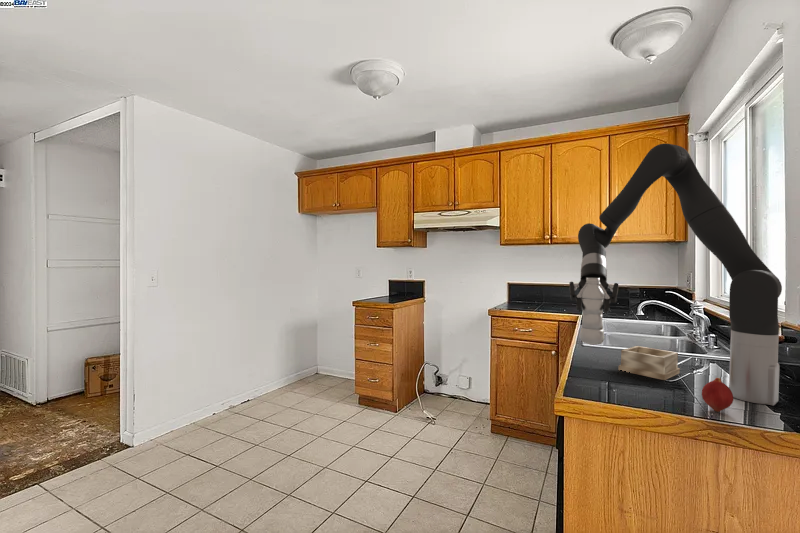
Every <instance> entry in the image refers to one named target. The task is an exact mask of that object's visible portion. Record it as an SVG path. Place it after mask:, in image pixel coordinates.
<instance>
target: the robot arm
mask: <svg viewBox="0 0 800 533" xmlns="http://www.w3.org/2000/svg"><path fill="white" fill-rule="evenodd" d="M695 164H696V163H695V162H694V160H693V158H692V157H691V155H690V152H688V151H687V149H686V148H684V147H683V146H680V145H676V144H672V143H660V144H657V145H655V146H653V147H652V148H650V150H648V152H647V153H646V154H645V156H644V157H643V160H642V161H641V162H640V164H638V167H637V168H636V170H635V171H634V173H633V174H632V176H631V177H630V179H629V180H628V181H627V183H626V184H625V185H624V187H623V188H622V189H621V190H620V192H619V193H618V194H617V196H616V197H615V198H614V199H613V200H612V201H611V203H609V204H608V206H607V207H606V208H605V209H604V210H603V211H602V212H601V214H600V215H599V221H600V222H601V224H603V225H604V226H605V229H604V228H602V227H600V226H598V225H596V224H595V223H585V224H583V225H582V226H581V227H580V228H579V230H578V233H577V240H578V244H579V247H580V249H581V251H582V259H581V260H582V261H581V263H580V280H579V282H578V283H577V282H576V283H575V282H573V281H570V282H569V294H570V295H569V296H570V301H572V302H574V301H575V302H576V304H575V306H576V310H577V311H578V312H580V313H581V312H582V310H583V308H582V298H581V294H582V291H583V290H584V289H585V287H586V286H587V284H586V278H600V284H599V287H600V288H601V289H602V291H603V292H604V294H605V299H604V306H603V313H604V314H608V312H610V310H611V307H610V304H612V303H613V304H616V303H617V300H618V293H619V283H617V282H614V284H610V283H609V282H608V269H607V268H608V265H607V251H606V248H607V247H608V246H609V245H610V244H611V242H612V240H613V238H614V236H615V235H616V232H617V231H618V229H619V228H620V227H621V225H622V224H624V222H625V221H626V220H627V219H628V218H629V217H630V216H631V215H632V214H633V213H634V211H635V209H636V208H637V207H638V205H639V203H640V200H641V199H642V197H643V196H644V194H645V193H646V191H647V190H648V189H649V188H650V187H651V186H652V185H653V184H654V183H655V182H656V181H658V180H659V179H661V178H662V177H664V179H666V180H667V181H668V183H669V184H670V185H671V187H672V189H673V190H675V193H676V194H677V196H678V198H679V202H680V207H681V212H682V215H683V217H684V220H685V221H686V223H687V224H688V226H689V227H690V229H691V231H692V232H693V234H694V235H695V236H696V237H697V239H698V240H699V241H700V242H701V243H702V245H704V246H705V247H706V248H707V249H708V250H709V251H710V253H711V254H713V255H714V256H715V257H716V258H717V259H718V260H719V261H720V263H721V264H722V265H723V267H724V268H725V270H726V271H727V273H728V275H729V277H730V279H731V282H730V286H729V297H728V298H729V312H728V314H729V316H728V317H729V321H730V345H729V347H730V350H729V351H730V352H729V372H728V373H729V375H728V376H729V377H728V378H729V379H728V381H729V382H728V387H729V388H730V390H731V391H732V394H733V399H737V400H740V401H743V402H744V401H745V402H748V403H754V404H758V405H759V404H760V405H770V406H773V407H774V406H775V405H776V404H777V403H778V402H779V394H780V392H779V390H780V388H779V387H780V363H778V362H779V341H780V340H779V338H780V337H779V336H780V335H779V334H780V324H779V317H778V313H779V312H778V310H779V298H780V296H781V294H782V290H783V286H782V282H781V280H780V279H779V278H778V277H777V276H776V275H775V274H774V273H773V272H772V271H771V269H769V267H767V265H766V264H765V263H764V262H763V260H761V258H760V257H759V256H758V255H757V254H756V252H755V251H754V250H753V249H752V247H751V245H750V243H749V242H748V240H747V239H746V236H745V235H744V233H743V231H742V230H741V228H740V226H739V225H738V222H736V220H735V218H734V217H733V215H732V214H731V213H730V211H729V210H728V209H727V207H726V206H725V205H724V203H723V202H722V201H721V199H719V197H718V196H717V194H716V193H715V191H713V189H712V188H711V187H710V185H709V184H708V183H707V182H706V181H705V180H704V178H703V176H702V175H701V173H700V172H699V170H698V168H697V166H696V165H695ZM578 288H579V289H580V291H579V292H578V294H576V291H577V289H578ZM608 289H609V290H610V292H611V293H612V294H611V295H609V294H608V293H607V290H608Z"/></svg>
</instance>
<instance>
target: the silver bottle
mask: <svg viewBox="0 0 800 533" xmlns="http://www.w3.org/2000/svg"><path fill="white" fill-rule="evenodd" d="M586 284H587V286H586V287H585V289H584V290H583V291H582V294H581V298H582V321H581V328H580V334H579V337H580V340H581V342H582V343H584V344H586V345H590V346H594V345H595V346H596V345H602V344H603V343H604V340H605V331H604V325H603V322H604V321H603V313H604V299H605V294H604V292H603V291H602V289H601V288H600V287H599V284H600V278H586Z"/></svg>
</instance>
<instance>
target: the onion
mask: <svg viewBox="0 0 800 533" xmlns="http://www.w3.org/2000/svg"><path fill="white" fill-rule="evenodd" d="M701 396H702V401H704V403H705V404H707V405H708V406H709V407H710V408H711V409H712V410H713V411H714V412H722V411H724V410H725V409H727V408H729V407H731V406H732V405H733V402H734V397H733V394H732V391H731V390H730V388H729V385H727V384H725V383H724V382H723V381H722V379H721V378H720V377H715V379H714V380H712V381H709V382H707V383H705V384H704V386H703V387H702V389H701Z"/></svg>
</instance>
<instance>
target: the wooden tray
mask: <svg viewBox="0 0 800 533" xmlns="http://www.w3.org/2000/svg"><path fill="white" fill-rule="evenodd" d="M620 351H621V354H620V355H621V356H620V364H619V365H618V371H620V370H622V371H621V372H624V371H626V373H629V372H630V374H635V375H639V376H644V377H648V378H653V379H657V380H661V381H666V380H668V379H670V378H673V377H675V376H676V375H679V374H680V373H681V372H680V370H681V368H679V367H678V360H679V358H678V357H679V352H676V351H671V350H665V349H658V348H651V347H646V346H641V345H634V346H631V347H627V348H624V349H622V350H620Z"/></svg>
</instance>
